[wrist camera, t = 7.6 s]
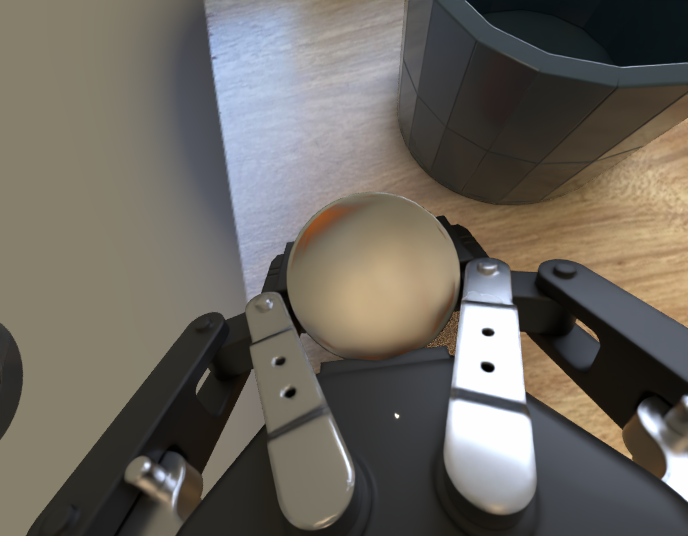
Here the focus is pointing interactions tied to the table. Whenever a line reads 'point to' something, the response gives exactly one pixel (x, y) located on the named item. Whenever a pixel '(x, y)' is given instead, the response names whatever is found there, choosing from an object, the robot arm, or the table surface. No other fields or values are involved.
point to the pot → (537, 90)
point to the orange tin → (373, 277)
